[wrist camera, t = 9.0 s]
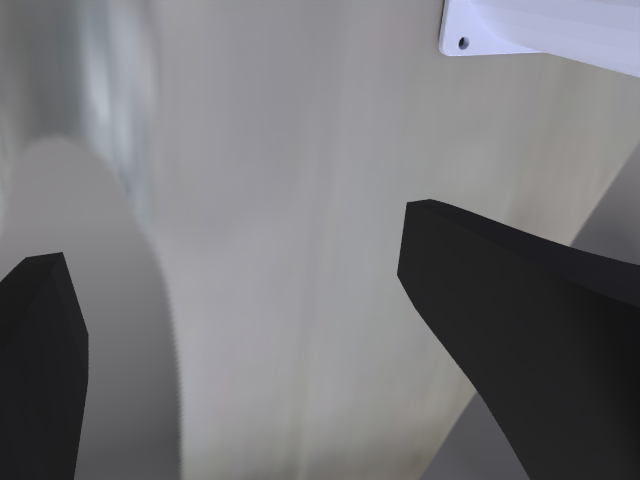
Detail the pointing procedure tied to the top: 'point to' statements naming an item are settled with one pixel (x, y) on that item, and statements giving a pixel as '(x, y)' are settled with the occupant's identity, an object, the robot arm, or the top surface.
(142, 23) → the top surface
